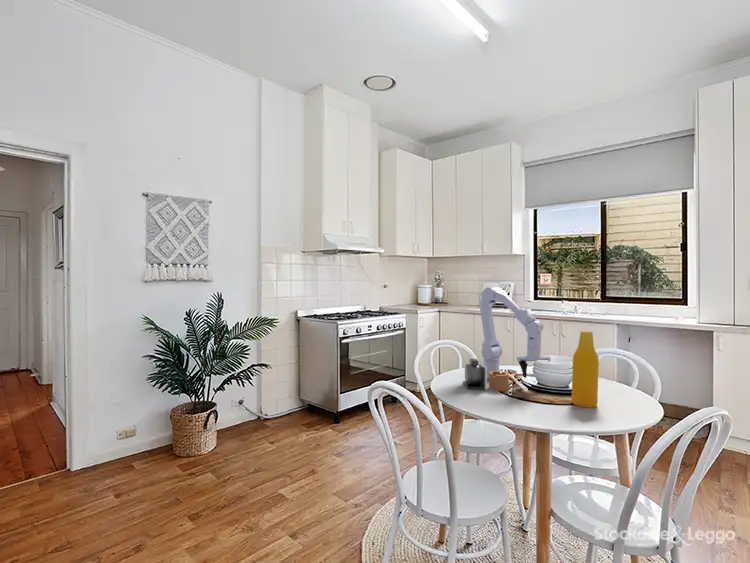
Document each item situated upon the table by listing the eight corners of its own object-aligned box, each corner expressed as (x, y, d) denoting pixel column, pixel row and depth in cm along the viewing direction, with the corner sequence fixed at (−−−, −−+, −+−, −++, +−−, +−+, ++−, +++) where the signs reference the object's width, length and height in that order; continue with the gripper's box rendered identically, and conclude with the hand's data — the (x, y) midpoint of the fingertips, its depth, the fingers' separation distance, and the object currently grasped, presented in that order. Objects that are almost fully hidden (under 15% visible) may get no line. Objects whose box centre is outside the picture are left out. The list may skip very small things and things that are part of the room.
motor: (462, 382, 194) (463, 356, 193) (479, 382, 194) (480, 357, 194) (468, 390, 182) (469, 363, 181) (486, 390, 182) (487, 363, 182)
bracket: (503, 392, 180) (504, 376, 180) (485, 388, 185) (486, 373, 185) (519, 383, 194) (520, 369, 193) (502, 380, 199) (502, 366, 199)
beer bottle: (566, 401, 168) (568, 330, 167) (584, 399, 171) (586, 329, 170) (583, 409, 160) (586, 333, 158) (602, 406, 162) (605, 332, 161)
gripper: (521, 348, 183) (520, 379, 184) (553, 349, 184) (552, 379, 184) (515, 345, 191) (514, 375, 191) (547, 346, 191) (546, 375, 191)
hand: (533, 377), depth 188 cm, fingers open, 7 cm apart
